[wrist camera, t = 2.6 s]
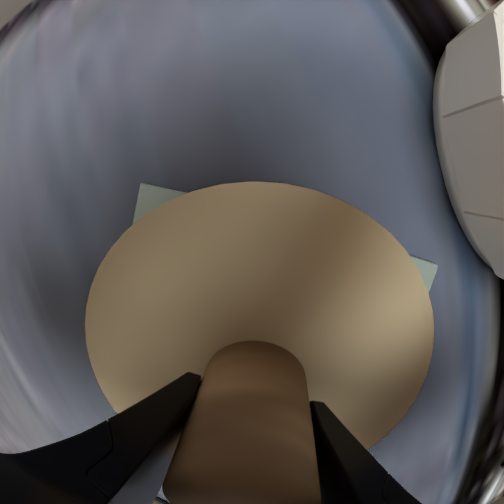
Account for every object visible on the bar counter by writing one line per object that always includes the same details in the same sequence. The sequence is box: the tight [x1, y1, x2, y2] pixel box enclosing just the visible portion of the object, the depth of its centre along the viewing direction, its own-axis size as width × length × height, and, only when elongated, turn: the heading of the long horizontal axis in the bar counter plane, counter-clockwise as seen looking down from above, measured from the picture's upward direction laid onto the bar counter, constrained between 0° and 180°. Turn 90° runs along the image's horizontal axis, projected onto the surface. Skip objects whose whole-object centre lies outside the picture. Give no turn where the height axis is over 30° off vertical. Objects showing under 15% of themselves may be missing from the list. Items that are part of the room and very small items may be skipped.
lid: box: [85, 181, 434, 504], centre depth 7 cm, size 12×12×6 cm
